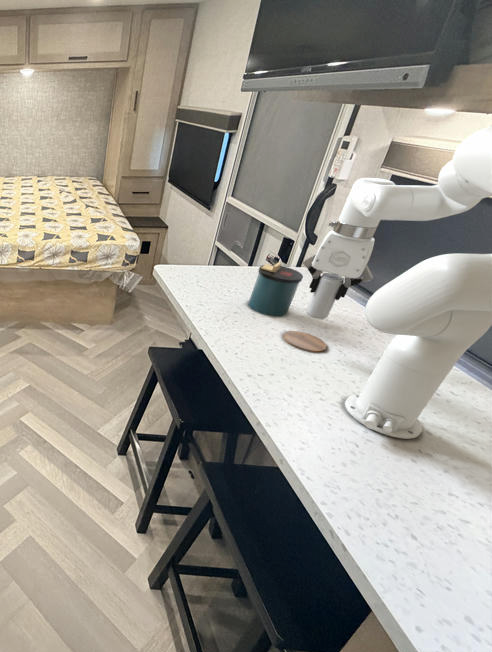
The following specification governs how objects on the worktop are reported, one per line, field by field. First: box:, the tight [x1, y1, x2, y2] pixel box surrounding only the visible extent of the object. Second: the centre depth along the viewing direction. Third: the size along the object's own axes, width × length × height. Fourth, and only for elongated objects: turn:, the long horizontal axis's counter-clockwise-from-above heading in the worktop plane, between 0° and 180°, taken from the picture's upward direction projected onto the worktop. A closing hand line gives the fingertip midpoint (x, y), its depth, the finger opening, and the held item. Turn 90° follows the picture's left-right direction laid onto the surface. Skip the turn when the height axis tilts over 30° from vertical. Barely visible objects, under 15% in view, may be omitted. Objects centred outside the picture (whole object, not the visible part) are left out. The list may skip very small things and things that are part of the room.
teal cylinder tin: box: [247, 264, 304, 318], centre depth 128 cm, size 12×12×13 cm
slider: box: [260, 262, 282, 273], centre depth 127 cm, size 4×4×2 cm
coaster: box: [283, 330, 327, 353], centre depth 114 cm, size 10×10×1 cm
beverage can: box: [305, 272, 345, 320], centre depth 107 cm, size 5×5×12 cm
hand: (325, 294), depth 107 cm, fingers closed on beverage can, 4 cm apart
